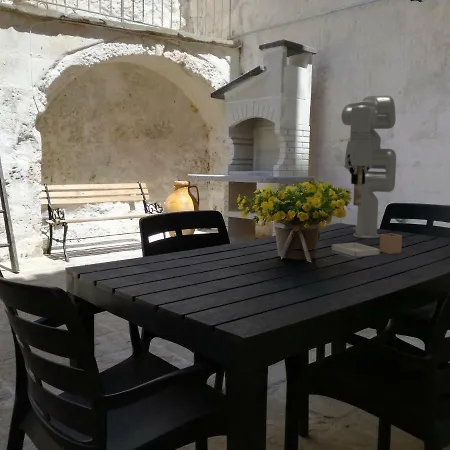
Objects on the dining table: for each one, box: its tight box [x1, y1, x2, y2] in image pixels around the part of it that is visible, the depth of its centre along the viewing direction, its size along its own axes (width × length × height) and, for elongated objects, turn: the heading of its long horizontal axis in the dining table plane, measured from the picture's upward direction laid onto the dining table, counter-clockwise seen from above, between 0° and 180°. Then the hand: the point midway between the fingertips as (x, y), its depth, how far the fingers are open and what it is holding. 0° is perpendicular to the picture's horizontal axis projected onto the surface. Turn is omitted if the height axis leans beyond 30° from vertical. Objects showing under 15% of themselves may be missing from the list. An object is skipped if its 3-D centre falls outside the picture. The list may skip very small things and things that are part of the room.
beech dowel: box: [352, 166, 364, 207], centre depth 207 cm, size 3×3×16 cm
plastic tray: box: [331, 242, 381, 260], centre depth 211 cm, size 16×12×3 cm
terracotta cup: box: [379, 233, 403, 255], centre depth 211 cm, size 6×6×8 cm
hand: (357, 183), depth 207 cm, fingers closed on beech dowel, 3 cm apart
